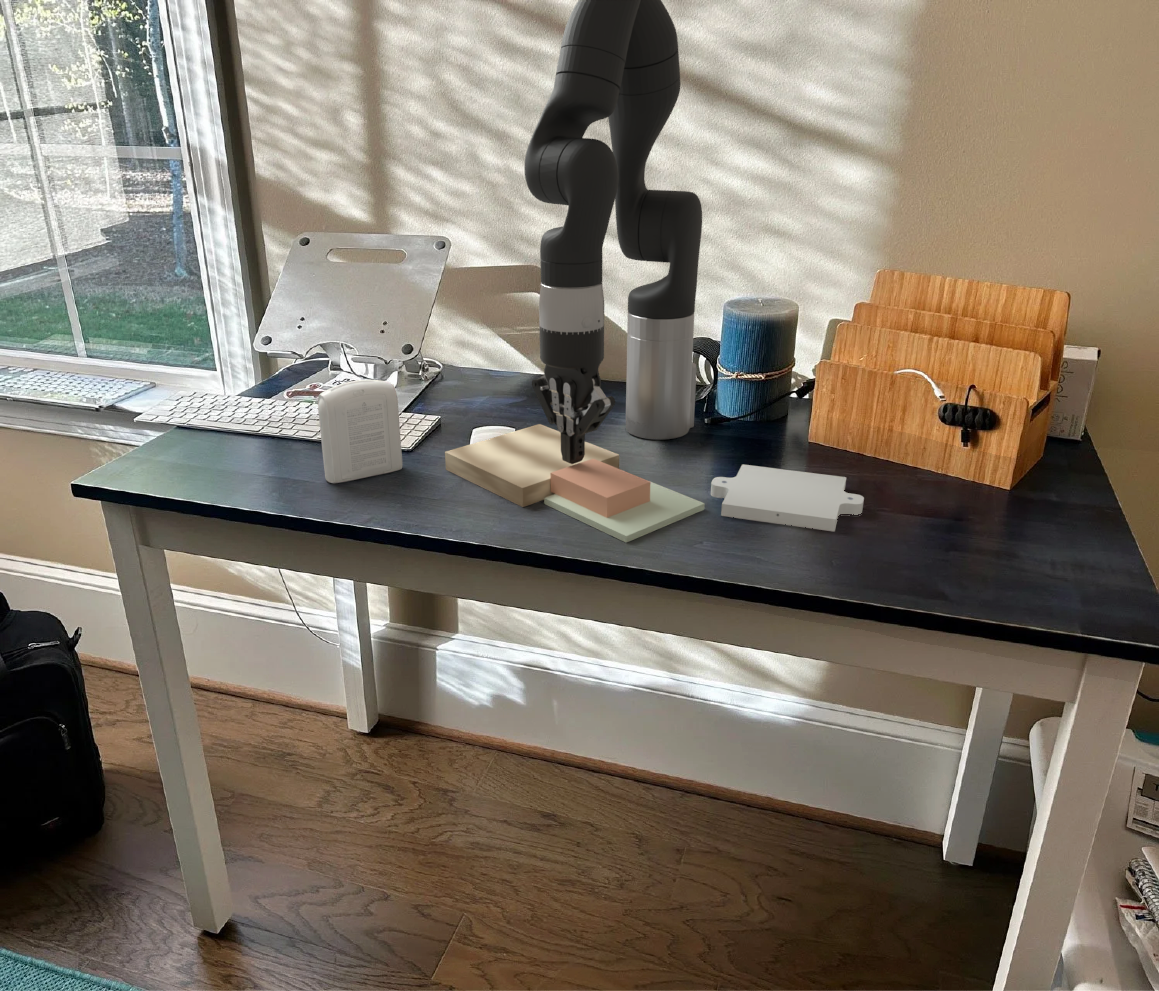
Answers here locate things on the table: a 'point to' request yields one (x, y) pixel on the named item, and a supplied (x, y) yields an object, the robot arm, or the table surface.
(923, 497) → the table surface
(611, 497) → the tile
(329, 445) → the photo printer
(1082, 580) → the table surface
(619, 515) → the mat
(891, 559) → the table surface
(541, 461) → the block
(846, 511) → the mounting plate
